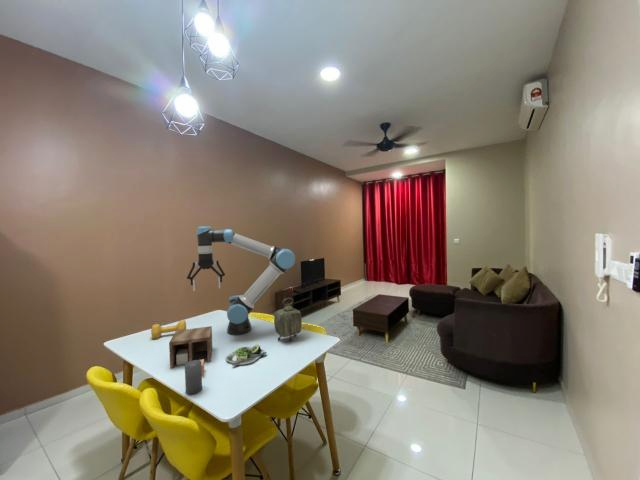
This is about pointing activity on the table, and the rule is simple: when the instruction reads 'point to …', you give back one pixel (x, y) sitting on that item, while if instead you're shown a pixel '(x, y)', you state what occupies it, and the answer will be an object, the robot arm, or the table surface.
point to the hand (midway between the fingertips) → (207, 289)
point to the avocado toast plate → (245, 355)
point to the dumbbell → (166, 329)
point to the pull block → (194, 376)
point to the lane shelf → (191, 342)
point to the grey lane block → (182, 356)
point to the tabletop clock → (287, 321)
